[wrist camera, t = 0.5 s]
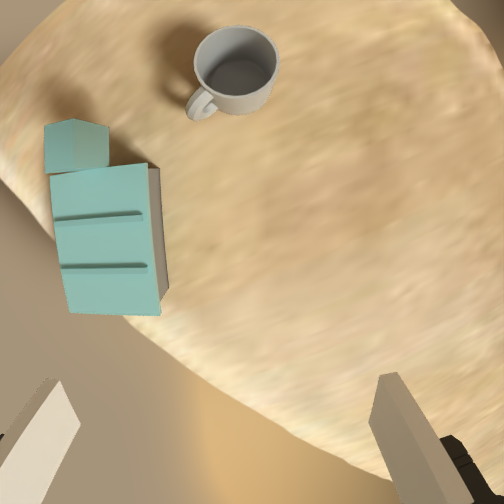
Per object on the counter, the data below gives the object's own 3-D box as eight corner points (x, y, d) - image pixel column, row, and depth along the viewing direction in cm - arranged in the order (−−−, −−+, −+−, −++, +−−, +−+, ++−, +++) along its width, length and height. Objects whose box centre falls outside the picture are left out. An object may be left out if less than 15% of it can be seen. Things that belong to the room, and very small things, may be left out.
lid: (52, 138, 26) (11, 135, 19) (146, 121, 26) (118, 109, 19) (73, 309, 31) (42, 338, 24) (161, 312, 31) (142, 347, 24)
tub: (83, 177, 33) (57, 179, 27) (159, 168, 33) (143, 168, 27) (96, 287, 37) (75, 305, 31) (169, 287, 37) (156, 308, 31)
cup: (284, 88, 31) (297, 63, 23) (218, 146, 33) (209, 139, 24) (240, 46, 30) (239, 11, 21) (174, 103, 31) (152, 83, 23)
